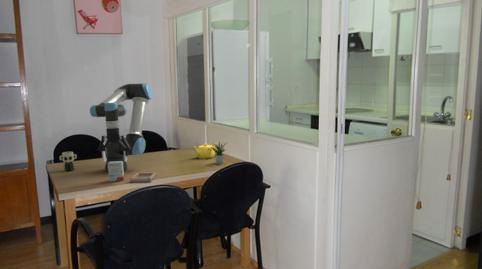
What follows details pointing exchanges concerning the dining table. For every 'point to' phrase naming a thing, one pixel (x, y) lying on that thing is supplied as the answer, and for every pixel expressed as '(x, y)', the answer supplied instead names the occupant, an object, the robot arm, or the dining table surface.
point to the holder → (143, 177)
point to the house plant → (219, 153)
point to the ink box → (116, 171)
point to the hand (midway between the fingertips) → (115, 161)
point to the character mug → (68, 160)
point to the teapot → (205, 151)
